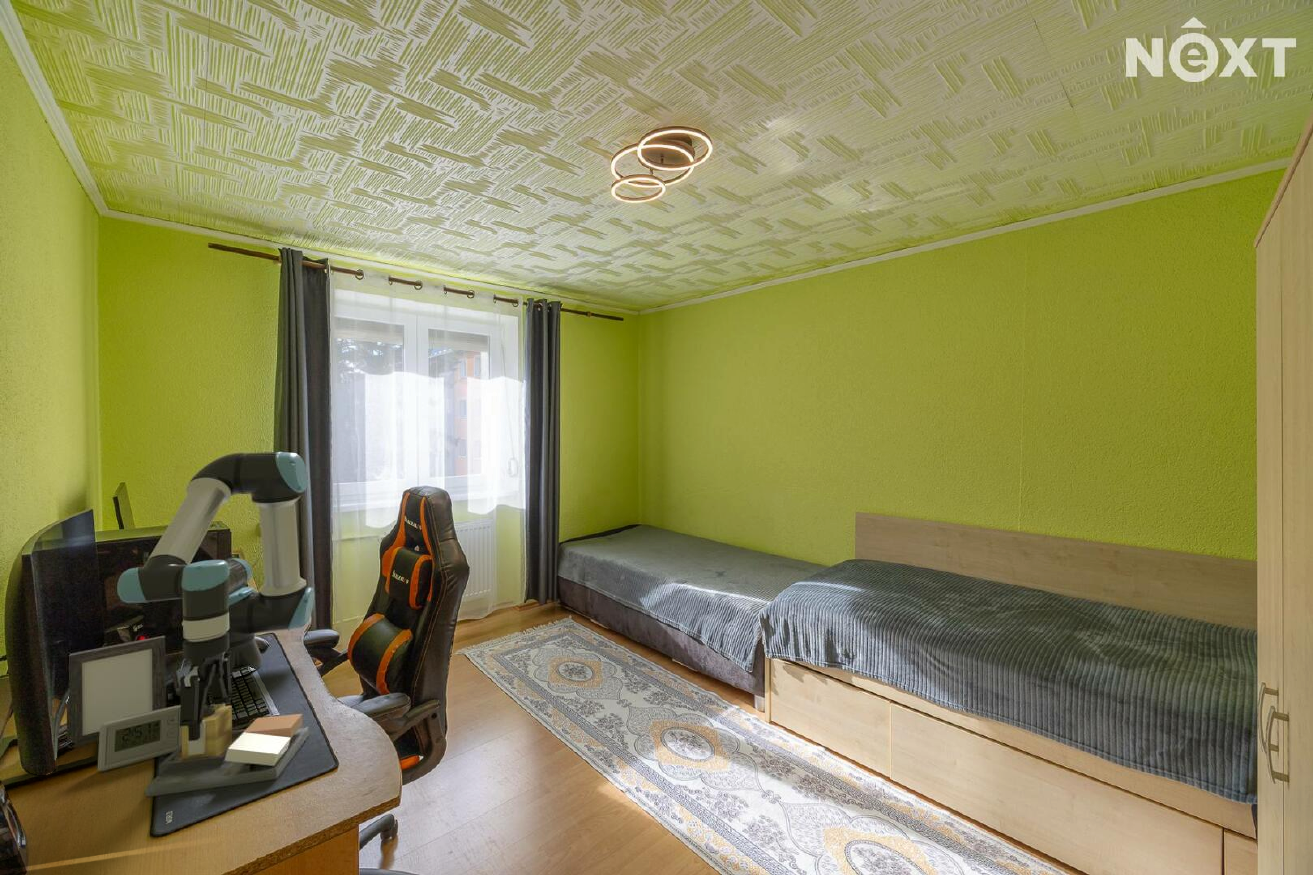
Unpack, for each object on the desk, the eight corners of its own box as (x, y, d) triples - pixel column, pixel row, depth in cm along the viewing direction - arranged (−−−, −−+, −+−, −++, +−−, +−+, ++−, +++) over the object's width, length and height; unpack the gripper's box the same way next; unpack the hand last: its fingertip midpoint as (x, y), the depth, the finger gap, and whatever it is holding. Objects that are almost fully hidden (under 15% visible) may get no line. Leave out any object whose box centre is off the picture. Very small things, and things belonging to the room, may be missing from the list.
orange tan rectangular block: (257, 728, 119) (257, 717, 119) (302, 724, 121) (302, 713, 121) (243, 743, 113) (243, 732, 113) (290, 738, 115) (290, 727, 115)
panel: (194, 749, 117) (194, 733, 117) (309, 735, 122) (308, 720, 122) (143, 797, 102) (142, 778, 102) (276, 778, 107) (276, 761, 107)
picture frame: (66, 751, 117) (66, 656, 117) (68, 747, 118) (67, 653, 118) (165, 724, 128) (165, 637, 128) (165, 720, 129) (164, 634, 129)
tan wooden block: (200, 745, 115) (199, 703, 115) (232, 741, 116) (231, 699, 116) (182, 762, 109) (181, 717, 109) (215, 757, 110) (215, 713, 110)
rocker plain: (240, 743, 111) (244, 732, 111) (287, 748, 113) (290, 737, 113) (224, 760, 105) (228, 748, 106) (274, 765, 107) (277, 753, 108)
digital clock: (92, 775, 108) (92, 731, 108) (110, 755, 115) (109, 714, 115) (180, 757, 115) (179, 715, 115) (192, 739, 121) (191, 699, 121)
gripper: (212, 621, 121) (213, 722, 121) (153, 655, 102) (154, 774, 102) (250, 618, 123) (251, 717, 123) (199, 651, 104) (200, 768, 104)
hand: (207, 743), depth 113 cm, fingers open, 6 cm apart
